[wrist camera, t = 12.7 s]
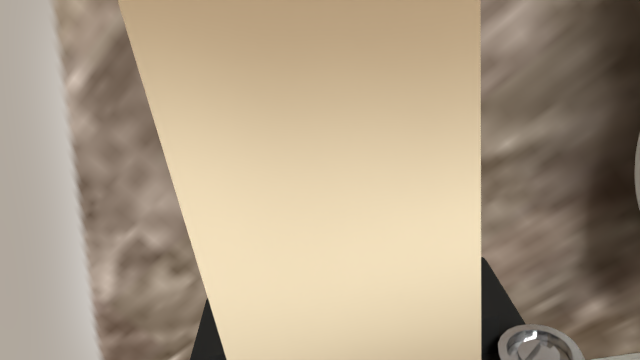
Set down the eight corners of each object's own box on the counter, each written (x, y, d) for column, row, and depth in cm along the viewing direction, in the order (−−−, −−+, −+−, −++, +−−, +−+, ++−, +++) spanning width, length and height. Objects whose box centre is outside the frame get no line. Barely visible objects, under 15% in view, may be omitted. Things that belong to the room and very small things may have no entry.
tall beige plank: (91, -12, 9) (-103, 23, 5) (507, -79, 9) (711, -105, 5) (250, 481, 16) (230, 695, 11) (497, 449, 16) (579, 653, 11)
